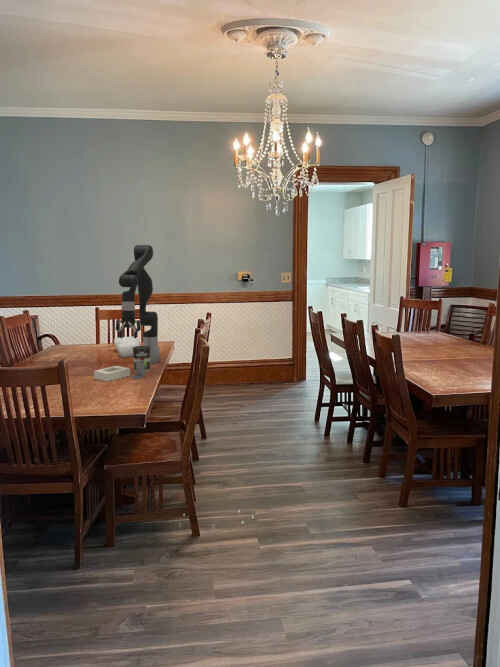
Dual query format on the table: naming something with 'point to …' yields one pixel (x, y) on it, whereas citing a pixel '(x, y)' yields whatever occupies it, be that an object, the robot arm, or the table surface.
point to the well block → (111, 373)
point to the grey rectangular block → (139, 370)
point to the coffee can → (141, 356)
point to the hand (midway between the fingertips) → (128, 338)
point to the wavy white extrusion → (126, 345)
